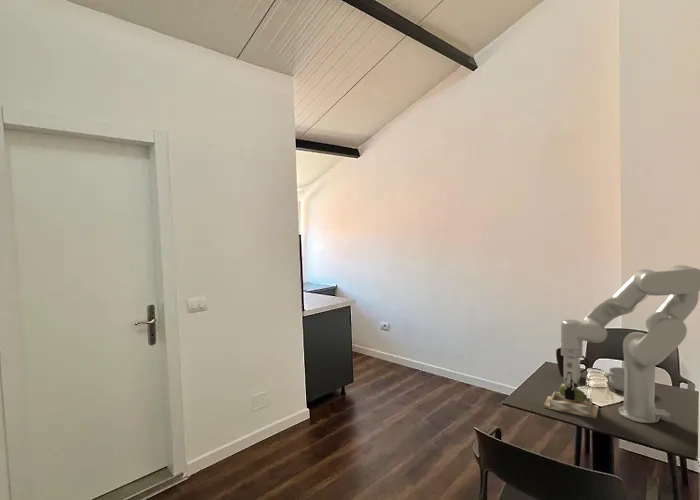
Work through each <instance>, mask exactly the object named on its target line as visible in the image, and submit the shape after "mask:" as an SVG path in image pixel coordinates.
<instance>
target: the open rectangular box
mask: <svg viewBox="0 0 700 500" xmlns="http://www.w3.org/2000/svg"><path fill="white" fill-rule="evenodd" d="M543 408H545V409H550V410H554V411H559V412H563V413H568V414H573V415H577V416H581V417H586V418H592V419H597V417H598V411H599V406H598V405H595V404H593V398H591V397H587V398H586V400H585V401H583V402H582V403H580V402H577V401H576V400H575V399H574V400H568V399H565V396H563V395H562V394H561V393H560V391H553V393H552V394H551V396H550V395H548V396H547V398H546V401H544V403H543Z"/></svg>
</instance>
